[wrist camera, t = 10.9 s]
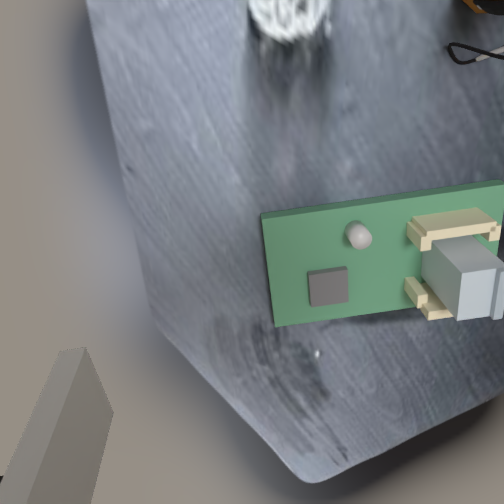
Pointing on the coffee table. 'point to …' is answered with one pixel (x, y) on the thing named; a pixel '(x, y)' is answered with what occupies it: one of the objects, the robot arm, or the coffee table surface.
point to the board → (371, 250)
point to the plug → (465, 277)
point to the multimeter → (496, 3)
